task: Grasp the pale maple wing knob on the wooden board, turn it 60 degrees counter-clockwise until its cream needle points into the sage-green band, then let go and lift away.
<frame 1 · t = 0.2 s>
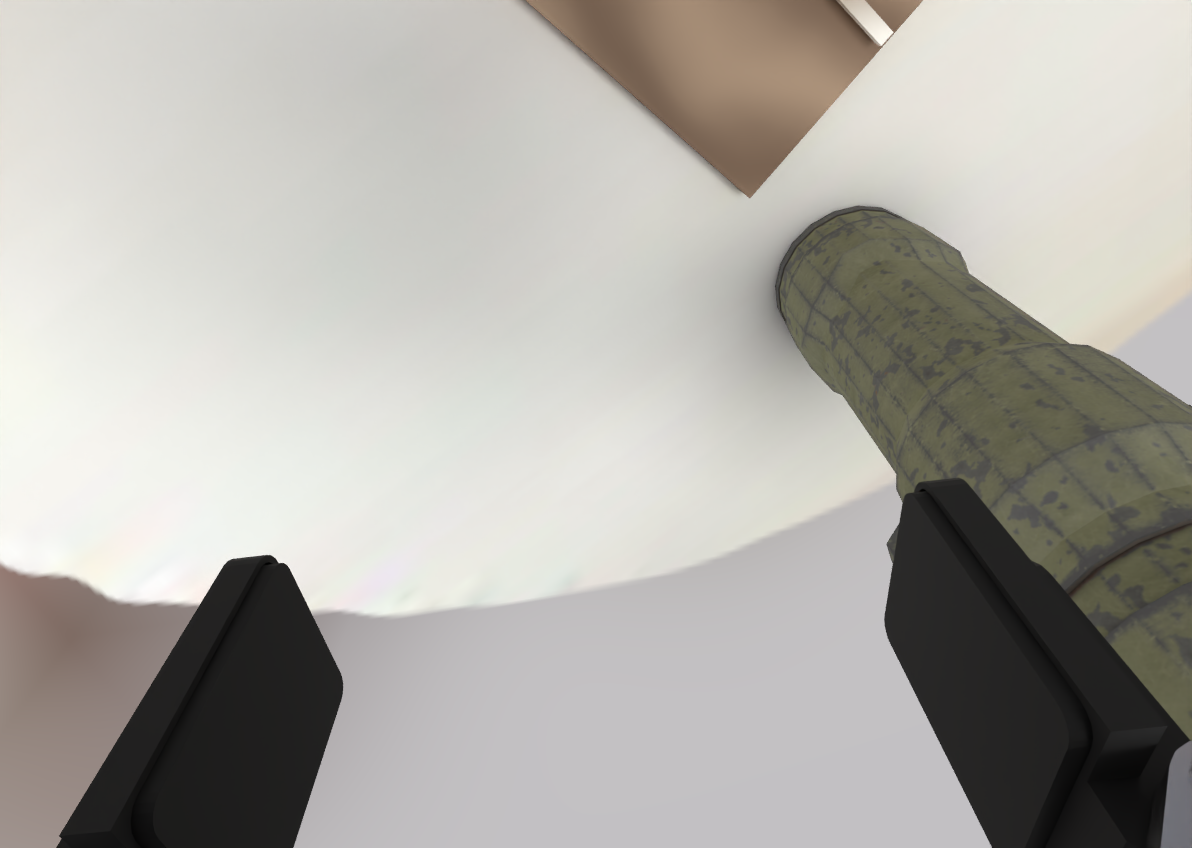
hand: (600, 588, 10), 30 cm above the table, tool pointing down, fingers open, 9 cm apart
thermos: (846, 279, 40), on the table
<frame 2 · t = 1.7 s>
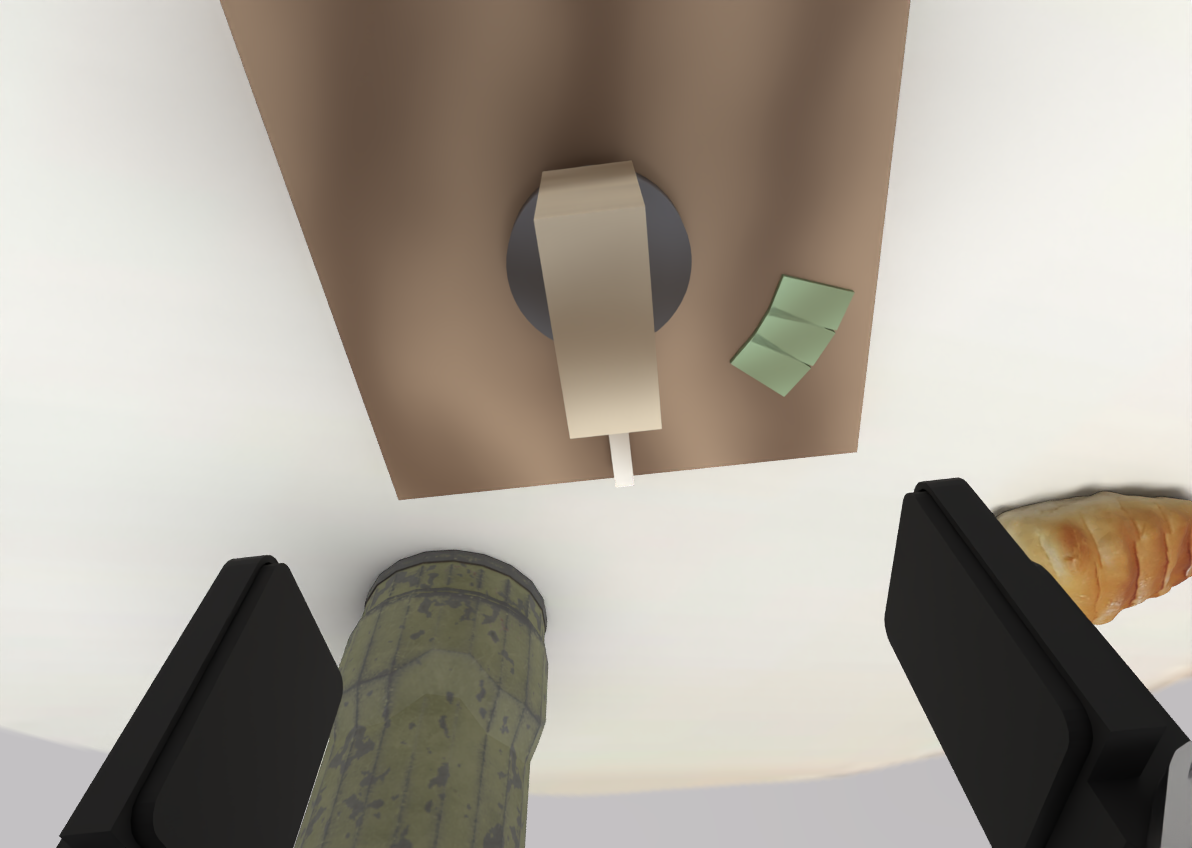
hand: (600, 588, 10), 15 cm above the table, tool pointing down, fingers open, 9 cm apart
wooden board: (597, 239, 23), on the table
knob: (610, 376, 21), point 5 cm above the table, hinge at 0.0°
pastry: (1061, 533, 31), on the table
thermos: (456, 611, 33), on the table
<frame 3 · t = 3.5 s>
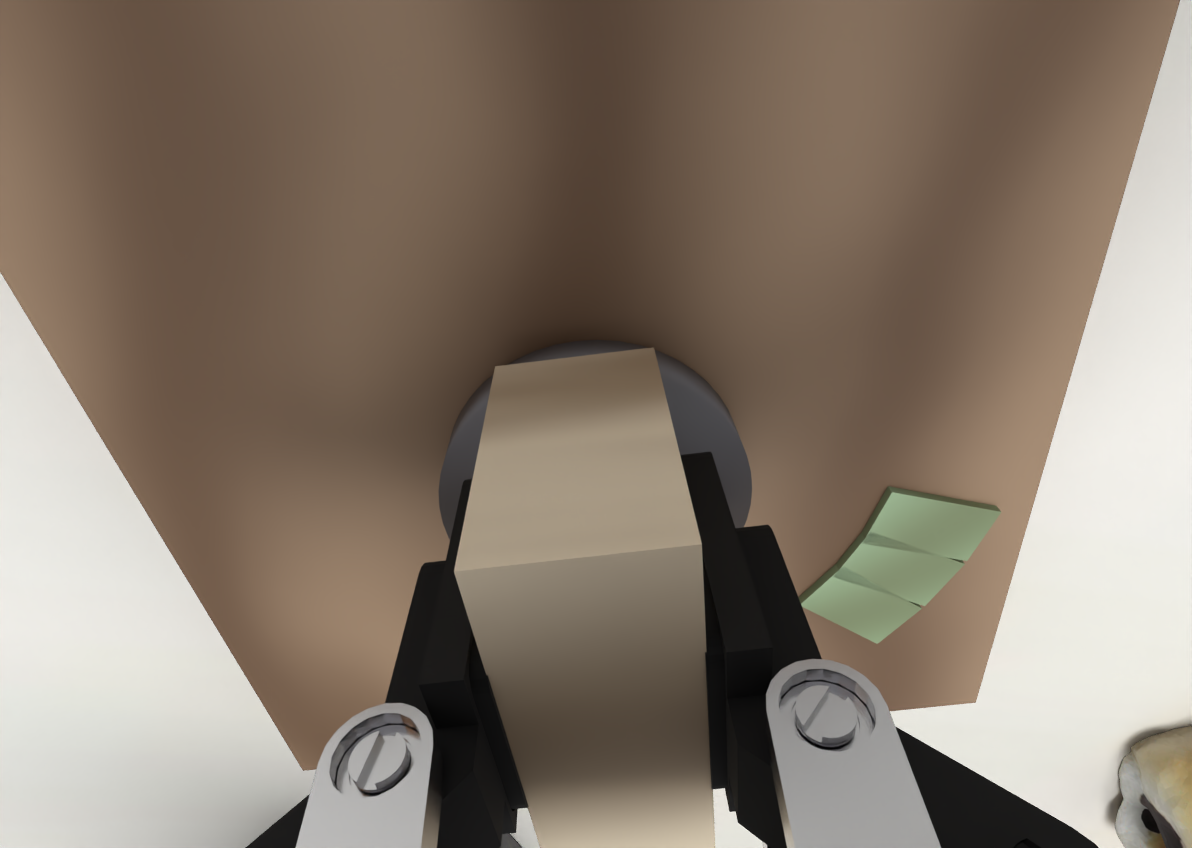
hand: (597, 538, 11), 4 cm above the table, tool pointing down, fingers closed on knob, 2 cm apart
wooden board: (591, 423, 15), on the table
knob: (617, 686, 12), point 5 cm above the table, hinge at 0.0°, touching gripper
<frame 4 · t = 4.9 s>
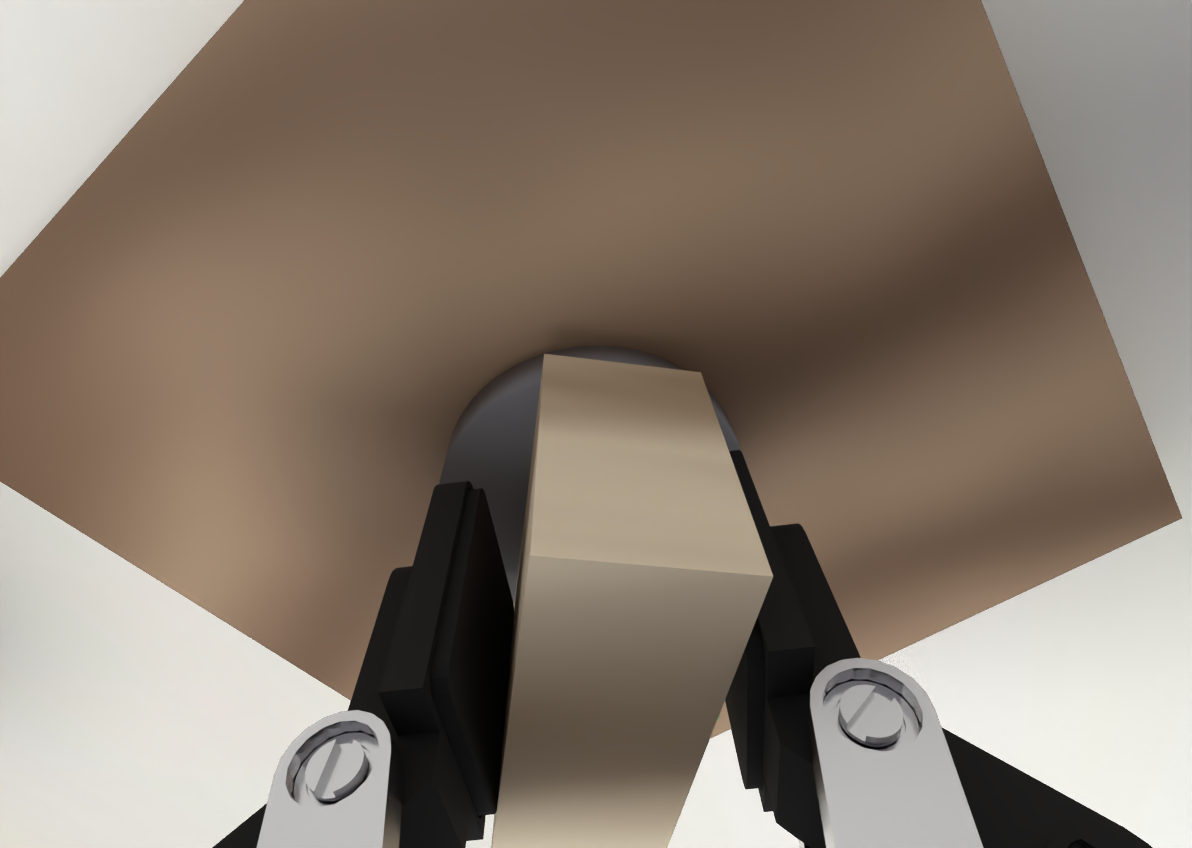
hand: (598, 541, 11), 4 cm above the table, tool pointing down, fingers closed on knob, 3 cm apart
wooden board: (591, 427, 15), on the table
knob: (576, 692, 12), point 5 cm above the table, hinge at 43.8°, touching gripper
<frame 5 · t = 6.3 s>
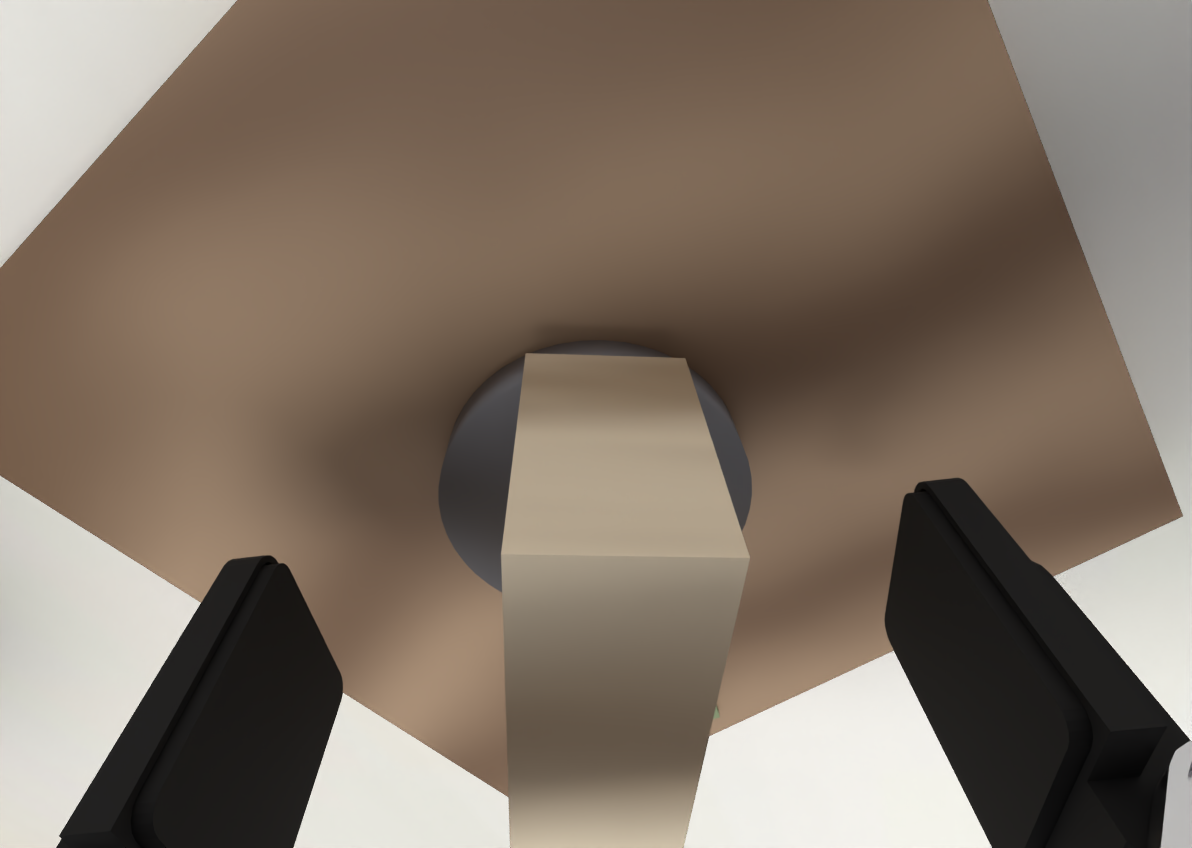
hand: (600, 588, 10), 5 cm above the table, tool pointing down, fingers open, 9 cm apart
wooden board: (591, 423, 15), on the table
knob: (591, 688, 12), point 5 cm above the table, hinge at 49.6°
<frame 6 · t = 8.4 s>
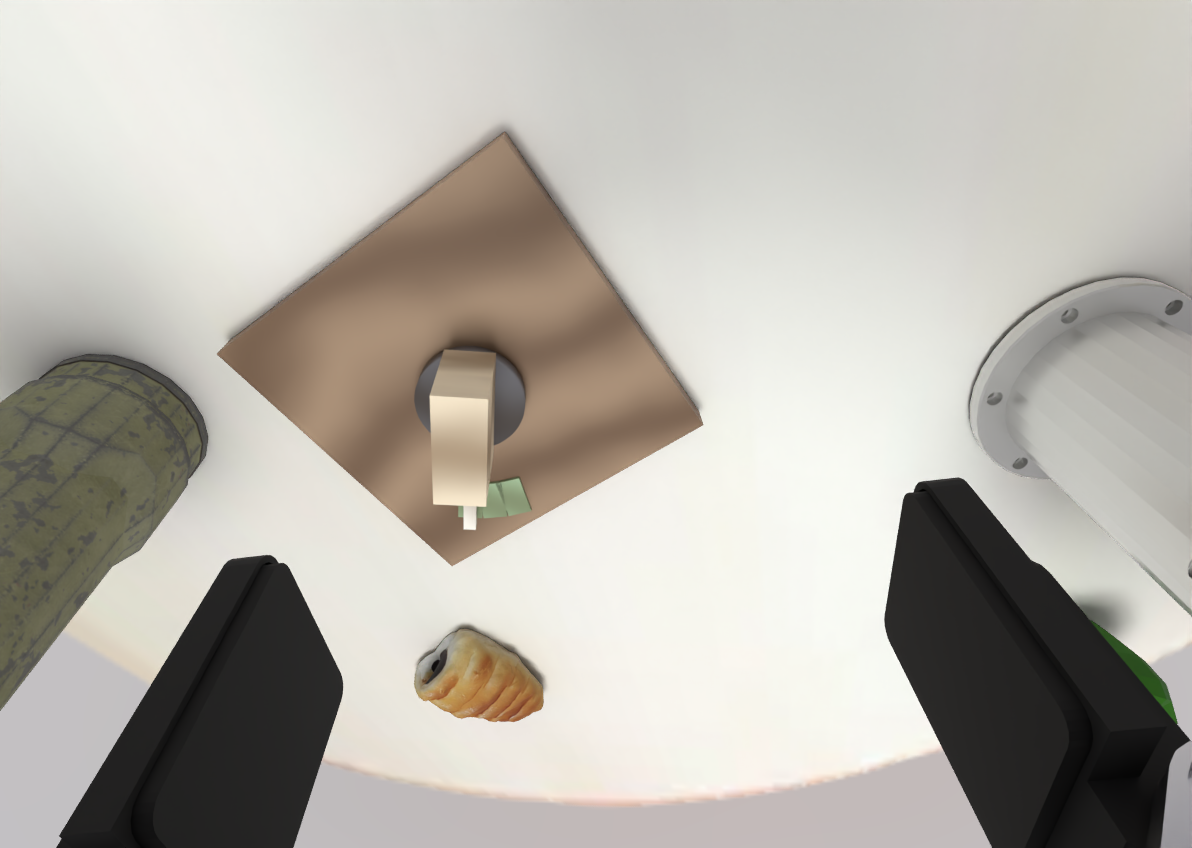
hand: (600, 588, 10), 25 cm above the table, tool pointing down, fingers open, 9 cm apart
bell pepper: (1046, 634, 51), on the table
wooden board: (475, 377, 37), on the table
knob: (466, 467, 35), point 5 cm above the table, hinge at 50.5°
pastry: (481, 660, 50), on the table
thermos: (125, 421, 38), on the table
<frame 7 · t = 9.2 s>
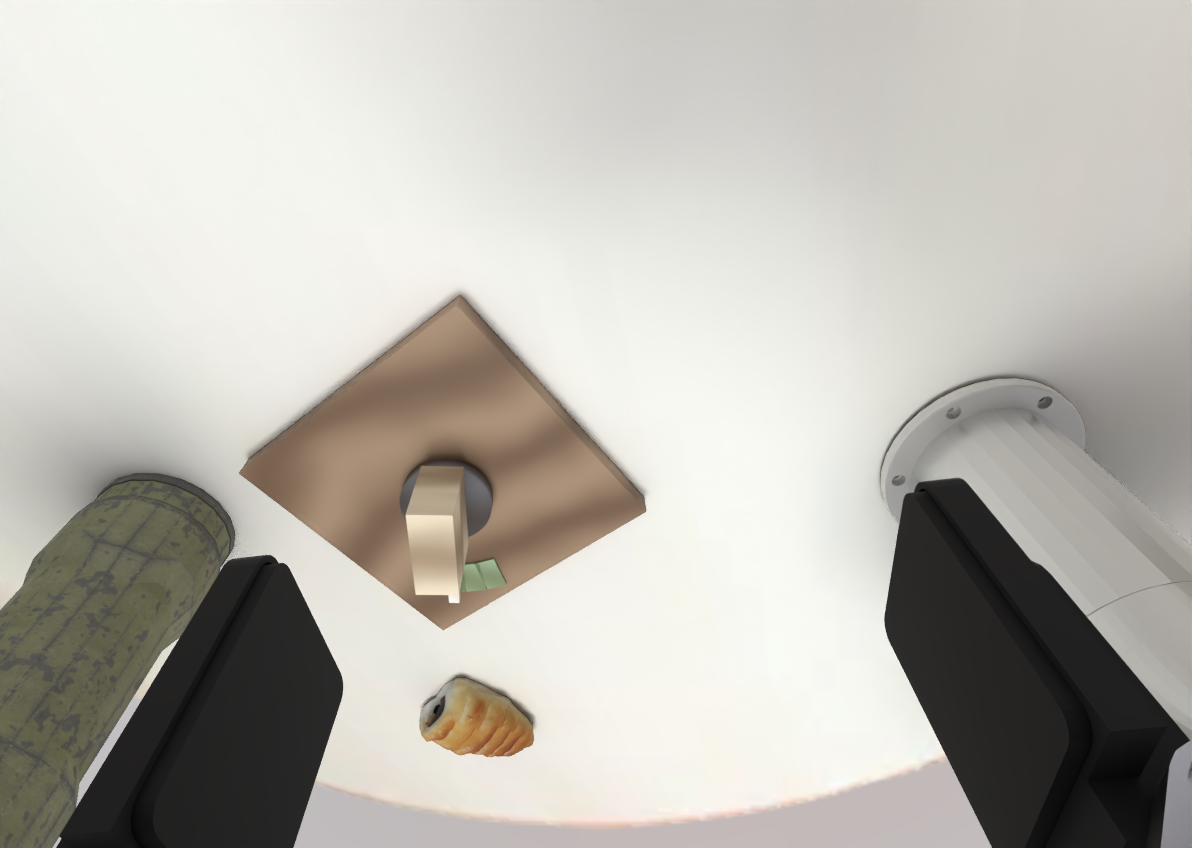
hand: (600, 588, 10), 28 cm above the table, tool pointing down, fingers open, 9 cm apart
wooden board: (452, 478, 44), on the table
knob: (444, 558, 42), point 5 cm above the table, hinge at 50.5°
pastry: (477, 703, 57), on the table
thermos: (168, 522, 46), on the table
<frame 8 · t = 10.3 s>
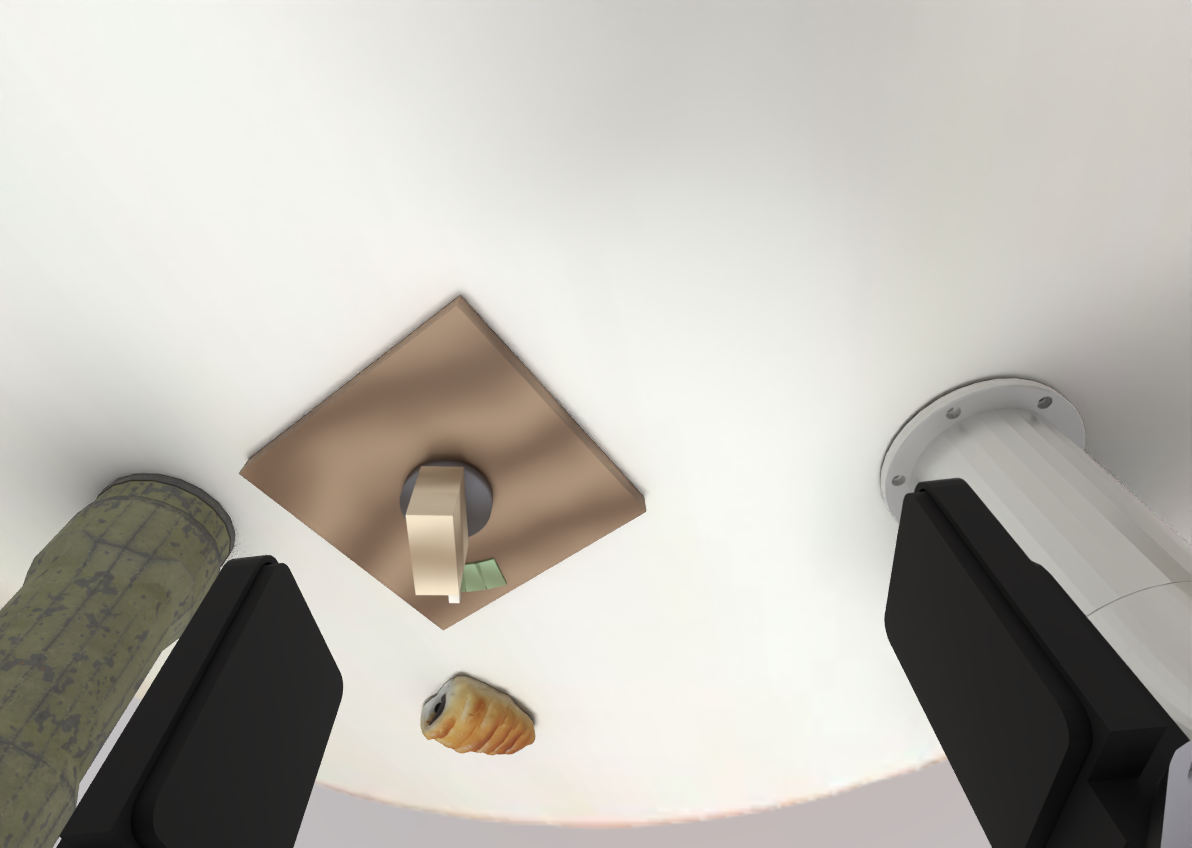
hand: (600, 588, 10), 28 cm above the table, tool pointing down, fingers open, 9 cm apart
wooden board: (452, 478, 44), on the table
knob: (444, 559, 42), point 5 cm above the table, hinge at 50.5°
pastry: (478, 701, 57), on the table
thermos: (168, 522, 46), on the table
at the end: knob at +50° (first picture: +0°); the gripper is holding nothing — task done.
